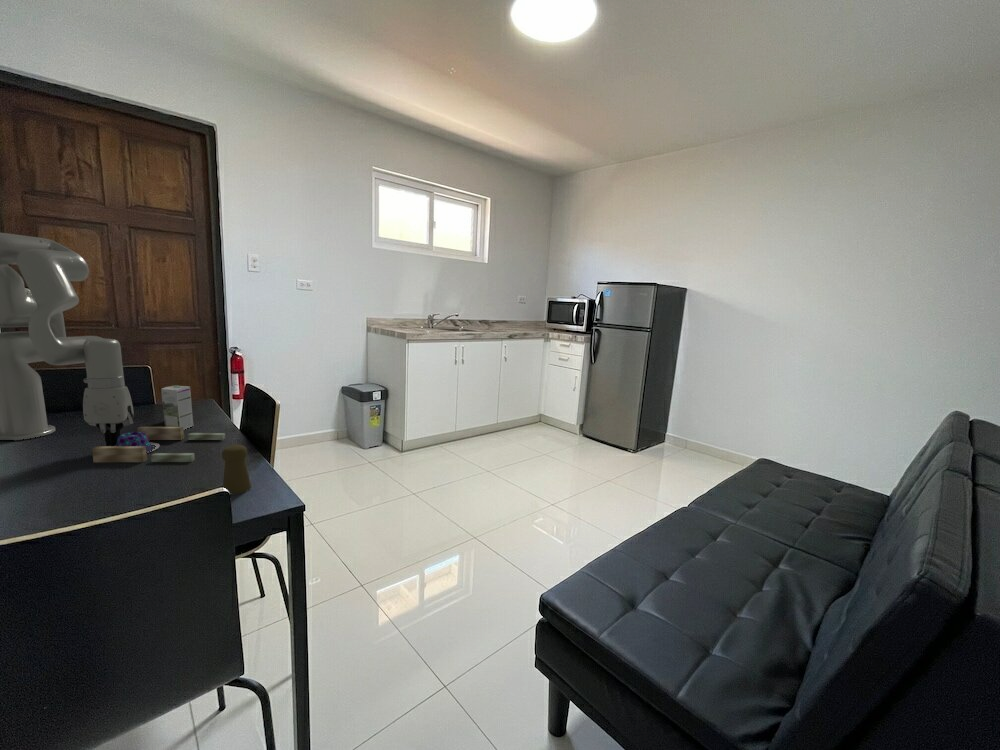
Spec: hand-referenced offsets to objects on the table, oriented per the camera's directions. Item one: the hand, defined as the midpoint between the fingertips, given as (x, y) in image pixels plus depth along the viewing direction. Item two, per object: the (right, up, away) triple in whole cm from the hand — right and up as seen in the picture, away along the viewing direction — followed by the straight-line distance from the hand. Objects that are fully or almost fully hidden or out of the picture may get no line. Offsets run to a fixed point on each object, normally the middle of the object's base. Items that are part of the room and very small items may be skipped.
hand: (113, 444), depth 121 cm
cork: (+48, -8, -19) cm, 52 cm away
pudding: (+5, -2, +1) cm, 6 cm away
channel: (+13, -2, +2) cm, 13 cm away
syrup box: (+3, +2, +21) cm, 21 cm away
